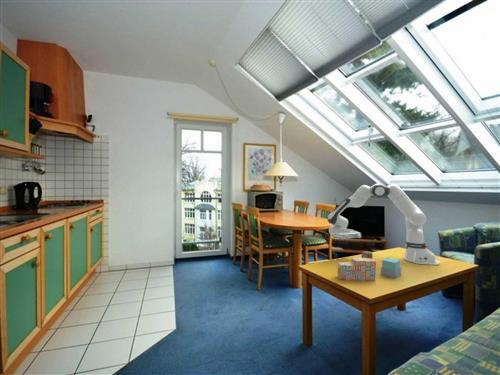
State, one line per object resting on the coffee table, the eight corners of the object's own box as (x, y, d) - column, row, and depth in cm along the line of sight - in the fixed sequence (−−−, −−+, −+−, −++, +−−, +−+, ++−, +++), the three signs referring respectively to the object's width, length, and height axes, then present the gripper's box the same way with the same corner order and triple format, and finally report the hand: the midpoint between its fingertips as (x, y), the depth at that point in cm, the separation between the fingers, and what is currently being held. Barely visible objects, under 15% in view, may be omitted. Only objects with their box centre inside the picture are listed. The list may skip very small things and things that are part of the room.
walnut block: (367, 264, 185) (367, 251, 184) (372, 266, 180) (372, 253, 180) (361, 265, 183) (361, 251, 183) (366, 267, 178) (366, 253, 178)
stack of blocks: (340, 280, 156) (340, 260, 156) (337, 276, 162) (337, 257, 162) (375, 280, 155) (375, 260, 155) (371, 276, 161) (371, 257, 161)
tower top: (386, 264, 170) (387, 257, 170) (400, 267, 164) (400, 260, 164) (382, 267, 165) (382, 259, 165) (395, 270, 159) (395, 262, 159)
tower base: (386, 271, 171) (386, 264, 171) (400, 275, 164) (401, 267, 164) (380, 274, 165) (380, 267, 165) (395, 278, 158) (395, 270, 158)
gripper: (332, 230, 203) (343, 233, 189) (353, 229, 209) (366, 232, 196) (332, 238, 203) (343, 242, 190) (353, 236, 209) (365, 240, 196)
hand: (355, 237), depth 193 cm, fingers open, 8 cm apart
